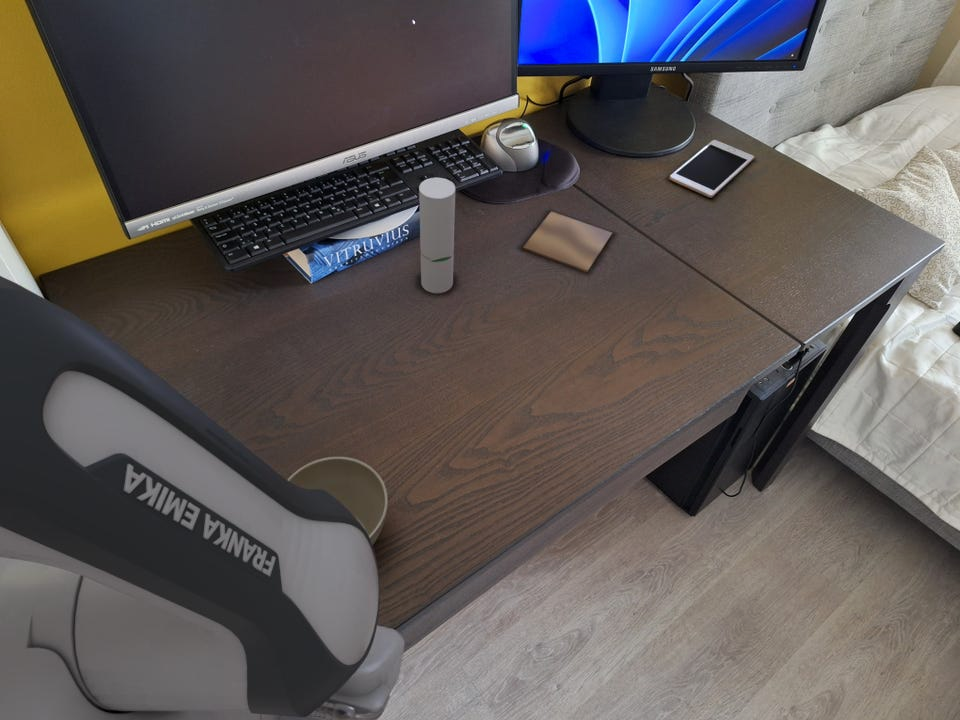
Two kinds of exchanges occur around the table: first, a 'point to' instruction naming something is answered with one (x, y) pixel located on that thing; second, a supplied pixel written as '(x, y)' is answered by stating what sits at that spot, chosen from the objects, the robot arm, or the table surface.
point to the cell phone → (711, 168)
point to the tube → (437, 234)
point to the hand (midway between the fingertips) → (300, 597)
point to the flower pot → (349, 488)
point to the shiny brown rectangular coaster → (568, 241)
